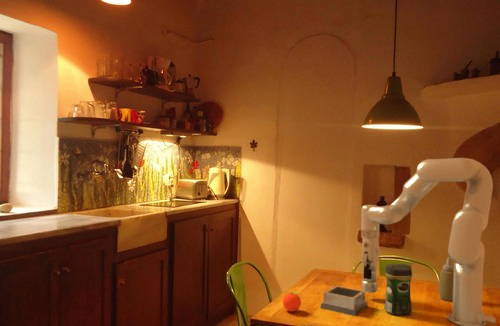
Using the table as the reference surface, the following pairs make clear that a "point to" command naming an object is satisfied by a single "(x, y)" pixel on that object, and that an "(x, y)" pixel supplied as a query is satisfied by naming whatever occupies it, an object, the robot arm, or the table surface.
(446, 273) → the squeeze bottle
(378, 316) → the table surface
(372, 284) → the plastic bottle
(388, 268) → the coffee jar
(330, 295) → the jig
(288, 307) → the clementine
